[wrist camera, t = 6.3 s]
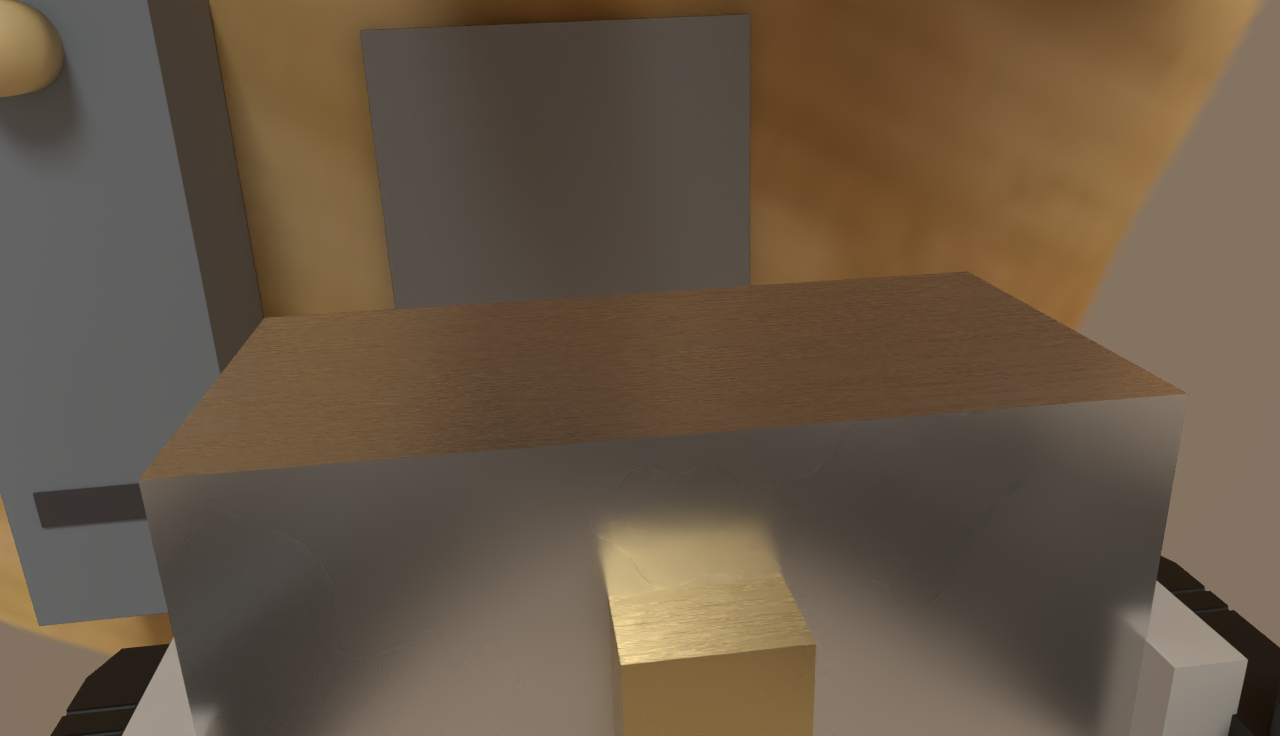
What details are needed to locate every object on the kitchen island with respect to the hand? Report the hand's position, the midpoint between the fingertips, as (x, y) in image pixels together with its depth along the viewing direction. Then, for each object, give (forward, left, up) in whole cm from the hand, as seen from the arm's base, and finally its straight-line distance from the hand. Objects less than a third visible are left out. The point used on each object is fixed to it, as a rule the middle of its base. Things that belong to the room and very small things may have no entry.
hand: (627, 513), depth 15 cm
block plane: (0, -12, -16) cm, 20 cm away
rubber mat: (0, 0, -16) cm, 16 cm away
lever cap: (0, 0, +2) cm, 2 cm away
